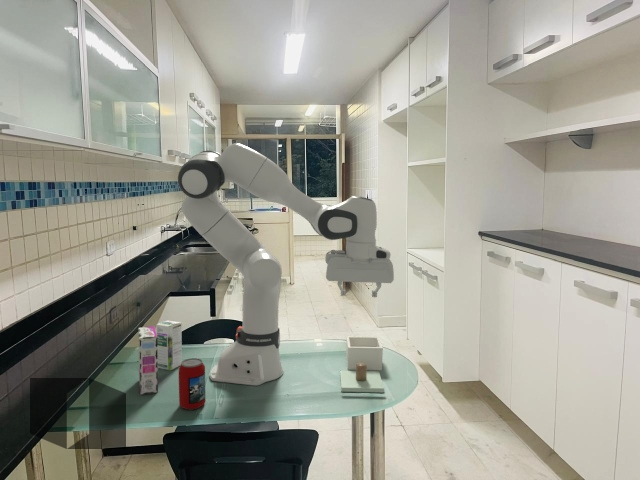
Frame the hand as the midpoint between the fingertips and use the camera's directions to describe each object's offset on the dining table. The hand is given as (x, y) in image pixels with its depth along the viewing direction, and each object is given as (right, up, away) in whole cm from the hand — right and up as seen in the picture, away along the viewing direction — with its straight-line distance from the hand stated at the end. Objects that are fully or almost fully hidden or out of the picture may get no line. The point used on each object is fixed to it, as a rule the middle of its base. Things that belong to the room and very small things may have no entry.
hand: (358, 296), depth 137 cm
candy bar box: (-62, -26, -5) cm, 67 cm away
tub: (+3, -25, +13) cm, 28 cm away
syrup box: (-60, -24, +10) cm, 66 cm away
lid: (0, -27, -2) cm, 27 cm away
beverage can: (-46, -27, -16) cm, 56 cm away
